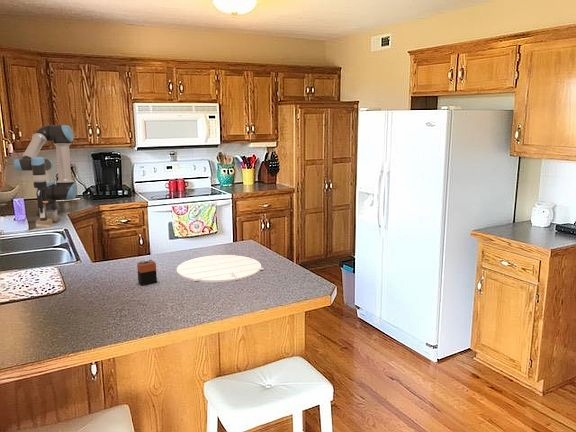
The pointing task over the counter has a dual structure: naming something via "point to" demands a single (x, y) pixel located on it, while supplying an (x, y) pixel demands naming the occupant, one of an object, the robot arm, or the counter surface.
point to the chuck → (53, 216)
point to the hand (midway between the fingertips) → (43, 216)
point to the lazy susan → (219, 268)
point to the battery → (147, 272)
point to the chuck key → (44, 210)
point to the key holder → (43, 223)
